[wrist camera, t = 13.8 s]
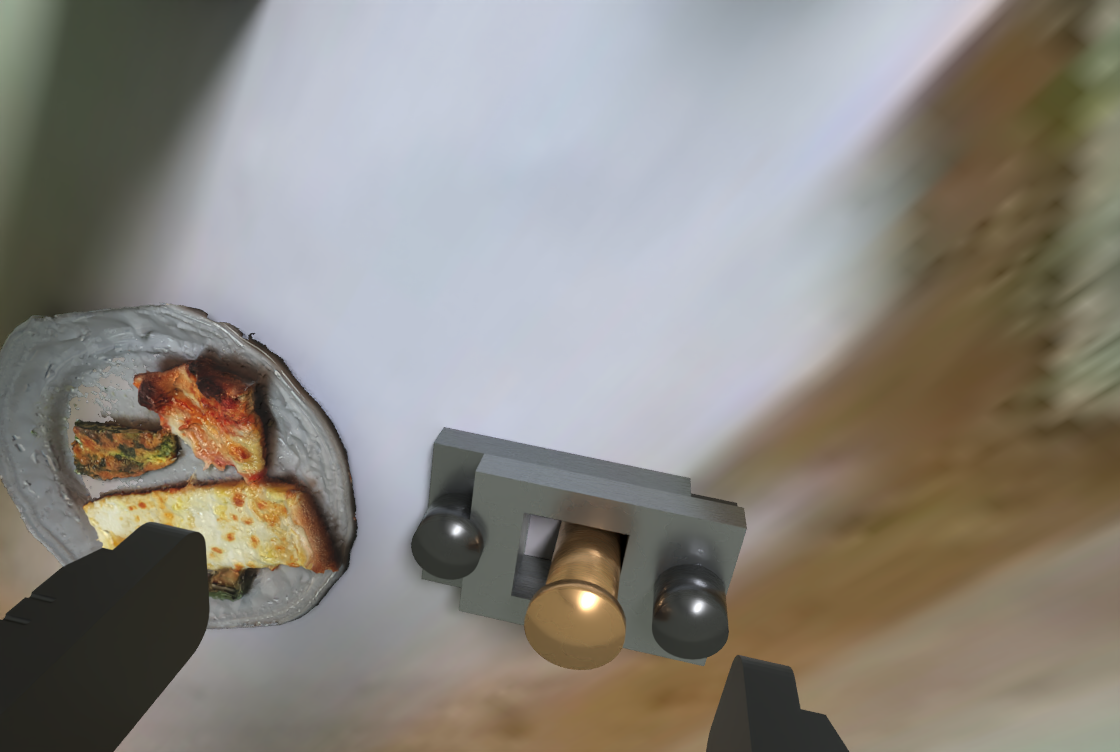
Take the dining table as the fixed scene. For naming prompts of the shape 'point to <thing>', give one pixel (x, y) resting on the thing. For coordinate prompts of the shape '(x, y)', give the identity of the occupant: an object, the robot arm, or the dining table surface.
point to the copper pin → (579, 600)
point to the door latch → (592, 500)
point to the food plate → (179, 453)
